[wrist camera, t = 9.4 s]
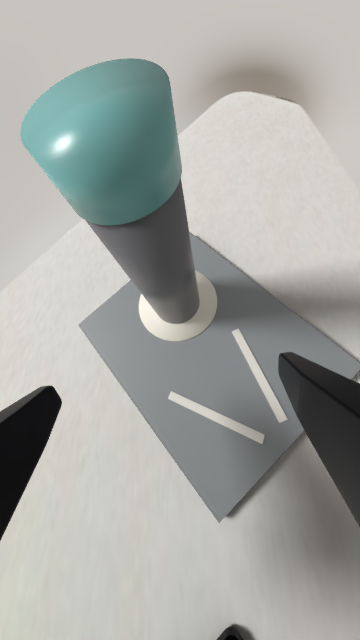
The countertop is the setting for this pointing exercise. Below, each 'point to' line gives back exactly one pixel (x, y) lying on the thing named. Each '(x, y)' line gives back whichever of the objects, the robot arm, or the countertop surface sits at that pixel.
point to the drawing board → (213, 374)
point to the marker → (122, 173)
